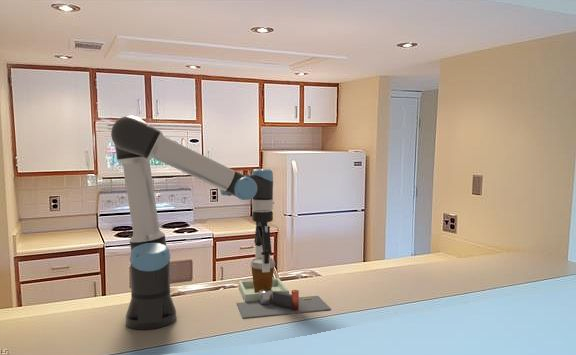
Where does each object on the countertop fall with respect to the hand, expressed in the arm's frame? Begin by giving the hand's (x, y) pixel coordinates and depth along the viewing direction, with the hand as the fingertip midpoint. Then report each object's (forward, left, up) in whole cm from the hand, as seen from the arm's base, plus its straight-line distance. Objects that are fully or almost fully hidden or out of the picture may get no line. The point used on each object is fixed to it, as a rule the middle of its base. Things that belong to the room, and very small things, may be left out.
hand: (262, 267), depth 157 cm
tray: (0, 0, -10) cm, 10 cm away
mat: (+4, -15, -10) cm, 19 cm away
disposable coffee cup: (0, 0, -10) cm, 10 cm away
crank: (+5, -17, -9) cm, 20 cm away
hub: (+6, -11, -10) cm, 16 cm away
